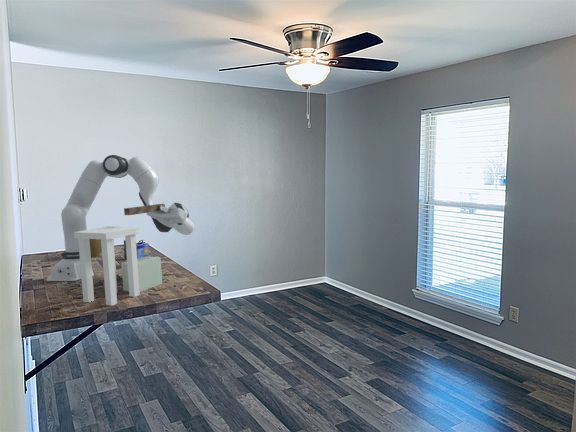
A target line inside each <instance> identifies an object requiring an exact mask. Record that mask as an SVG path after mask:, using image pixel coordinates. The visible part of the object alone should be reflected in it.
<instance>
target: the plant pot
mask: <svg viewBox="0 0 576 432" xmlns="http://www.w3.org/2000/svg"><path fill="white" fill-rule="evenodd" d="M89 241H90V253H91V258H96V257H95V256H98V257H100V256H101V255H102V246H101V239H89Z"/></svg>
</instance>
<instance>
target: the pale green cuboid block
mask: <svg viewBox="0 0 576 432" xmlns="http://www.w3.org/2000/svg"><path fill="white" fill-rule="evenodd" d="M120 264H121V277H122V289H123V290H122V291H123V292H129V283H128V269H127V261H124V262H121V263H120ZM137 264H138V278H139V292H140V293H141V292H144V291H147V290H149V289H151V288H155V287H157V286H160V285H162V284H163V276H162V275H163V272H162V260H161V257H160V256H149V257H148V256H145V257H142V258H138V259H137Z"/></svg>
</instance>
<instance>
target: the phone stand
mask: <svg viewBox="0 0 576 432" xmlns="http://www.w3.org/2000/svg"><path fill="white" fill-rule="evenodd" d="M123 251H124V252H123V254H124V256H123V257H124V259H125V260H126V261H127V255H126V241H125V240H123Z"/></svg>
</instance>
